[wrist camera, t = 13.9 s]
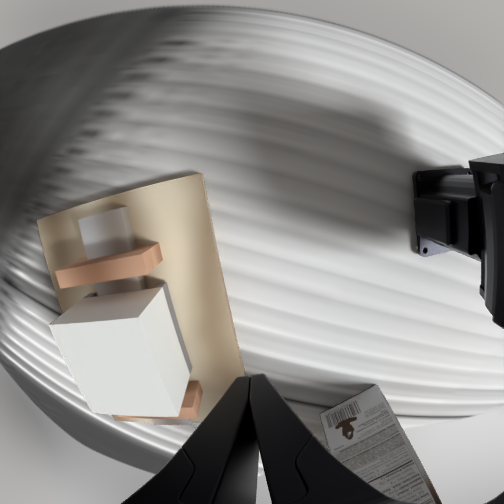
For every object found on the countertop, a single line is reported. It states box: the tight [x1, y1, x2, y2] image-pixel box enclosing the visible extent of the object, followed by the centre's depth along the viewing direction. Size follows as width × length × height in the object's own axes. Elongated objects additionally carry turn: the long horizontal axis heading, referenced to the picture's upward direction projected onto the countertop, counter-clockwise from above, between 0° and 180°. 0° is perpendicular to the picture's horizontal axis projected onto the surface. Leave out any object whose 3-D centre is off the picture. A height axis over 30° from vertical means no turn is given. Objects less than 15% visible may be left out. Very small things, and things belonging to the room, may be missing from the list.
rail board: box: [37, 173, 246, 425], centre depth 19 cm, size 14×20×4 cm
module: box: [49, 282, 192, 417], centre depth 17 cm, size 7×7×6 cm
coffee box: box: [320, 385, 442, 504], centre depth 16 cm, size 9×6×16 cm
